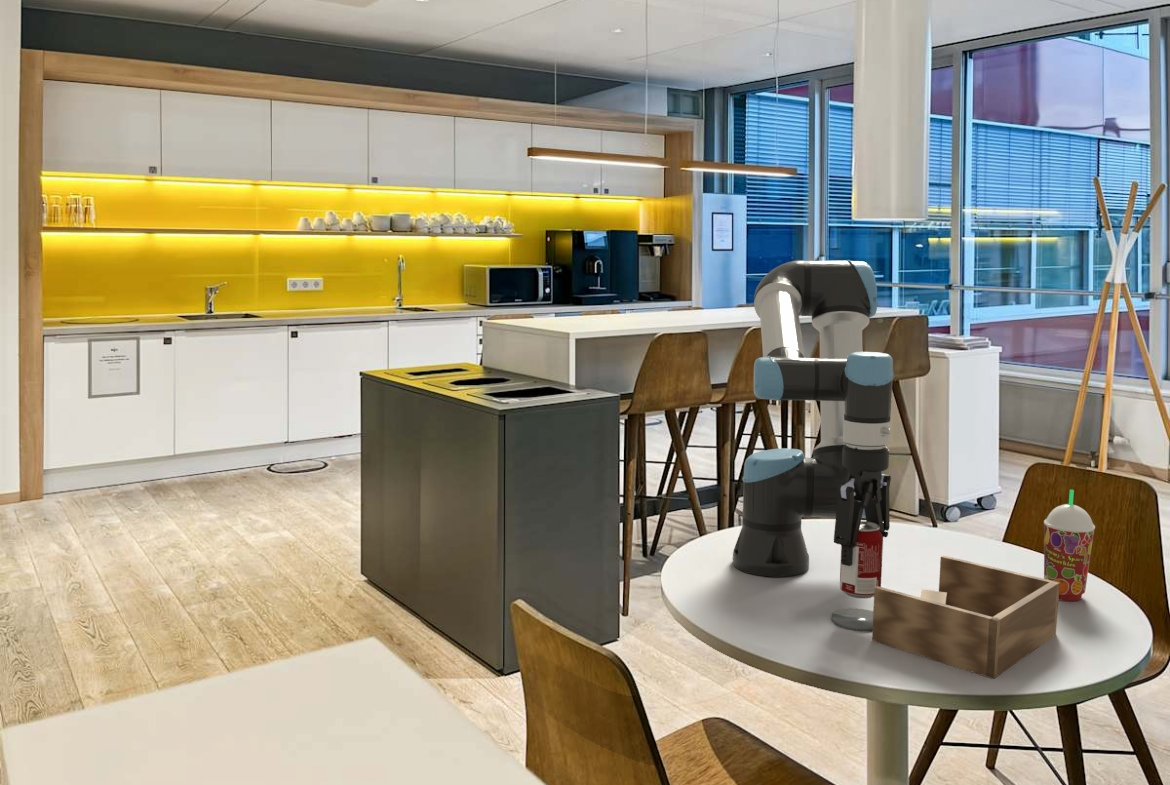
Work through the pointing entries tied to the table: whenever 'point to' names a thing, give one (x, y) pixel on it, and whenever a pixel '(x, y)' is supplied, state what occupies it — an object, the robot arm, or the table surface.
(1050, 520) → the smoothie
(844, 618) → the coaster
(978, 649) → the open wooden box
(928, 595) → the offcut top
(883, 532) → the robot arm
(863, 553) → the soda can
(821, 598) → the table surface
